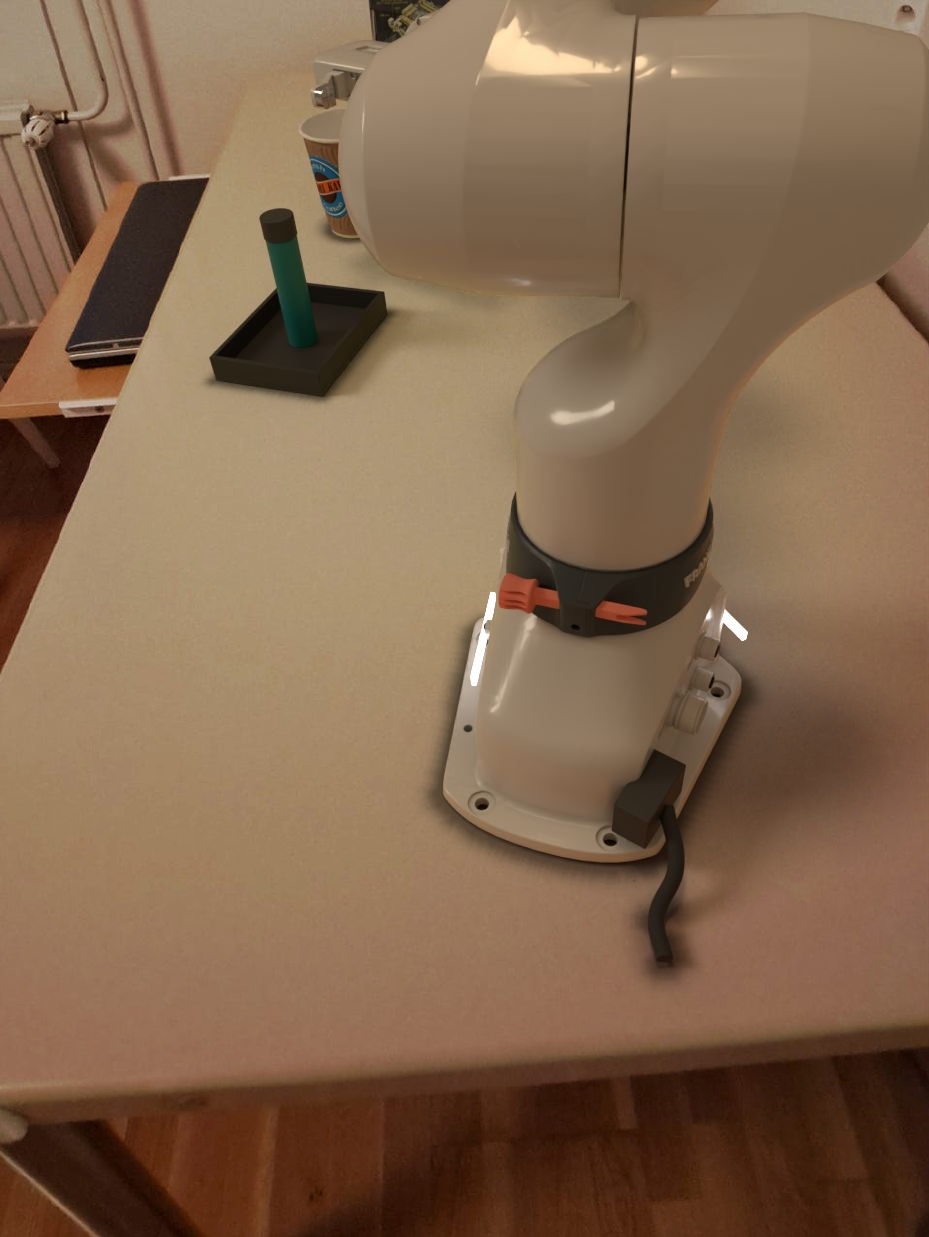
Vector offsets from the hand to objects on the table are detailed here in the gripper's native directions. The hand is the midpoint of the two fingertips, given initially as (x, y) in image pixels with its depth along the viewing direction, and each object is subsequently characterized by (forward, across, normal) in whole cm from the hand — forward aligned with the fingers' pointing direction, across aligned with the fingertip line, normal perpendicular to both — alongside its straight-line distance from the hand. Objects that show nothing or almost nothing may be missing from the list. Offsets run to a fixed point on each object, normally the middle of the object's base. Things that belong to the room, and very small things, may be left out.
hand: (353, 107), depth 87 cm
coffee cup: (-14, -16, +20) cm, 29 cm away
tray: (+10, -2, +20) cm, 23 cm away
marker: (+10, -2, +20) cm, 22 cm away
